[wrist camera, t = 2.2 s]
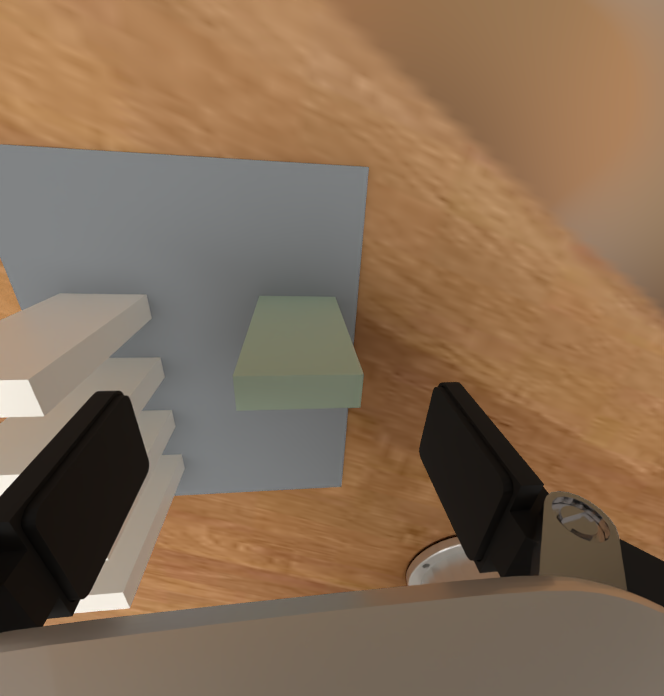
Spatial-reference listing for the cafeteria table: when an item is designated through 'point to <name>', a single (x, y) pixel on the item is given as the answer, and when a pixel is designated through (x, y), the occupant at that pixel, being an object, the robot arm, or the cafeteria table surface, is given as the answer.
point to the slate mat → (195, 284)
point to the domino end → (297, 357)
